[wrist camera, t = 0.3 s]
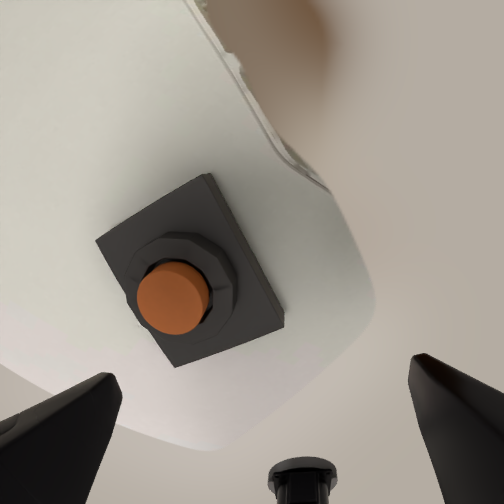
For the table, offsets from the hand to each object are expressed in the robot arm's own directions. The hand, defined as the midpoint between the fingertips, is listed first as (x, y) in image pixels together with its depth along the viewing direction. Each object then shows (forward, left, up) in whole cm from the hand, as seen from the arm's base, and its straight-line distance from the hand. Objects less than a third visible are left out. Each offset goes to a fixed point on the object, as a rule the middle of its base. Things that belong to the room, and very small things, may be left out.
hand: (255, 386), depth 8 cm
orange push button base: (-1, +6, -14) cm, 15 cm away
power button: (-1, +6, -10) cm, 12 cm away
